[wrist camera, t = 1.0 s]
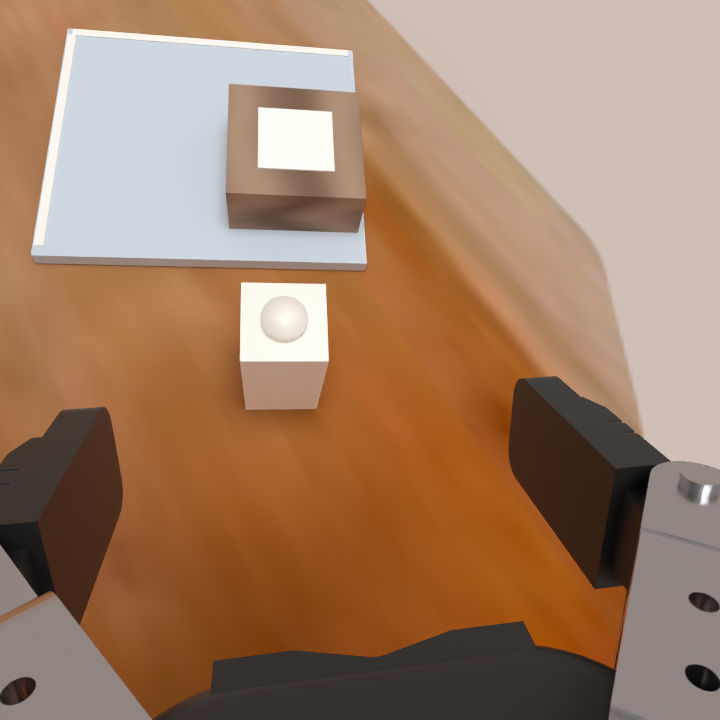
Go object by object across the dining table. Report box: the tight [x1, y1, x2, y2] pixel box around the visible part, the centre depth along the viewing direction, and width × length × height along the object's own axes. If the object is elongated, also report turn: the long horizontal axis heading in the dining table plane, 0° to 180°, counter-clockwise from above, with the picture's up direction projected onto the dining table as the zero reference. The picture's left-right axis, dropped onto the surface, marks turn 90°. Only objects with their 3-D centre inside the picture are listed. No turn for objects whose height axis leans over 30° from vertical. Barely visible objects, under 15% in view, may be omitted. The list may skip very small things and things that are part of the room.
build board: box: [31, 29, 367, 271], centre depth 43 cm, size 22×20×5 cm
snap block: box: [240, 283, 329, 410], centre depth 35 cm, size 4×4×9 cm
